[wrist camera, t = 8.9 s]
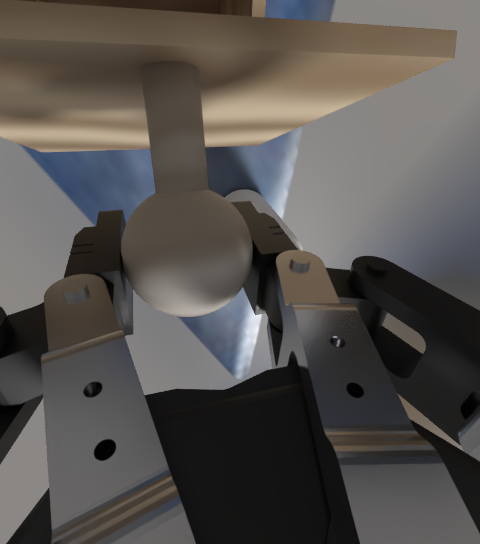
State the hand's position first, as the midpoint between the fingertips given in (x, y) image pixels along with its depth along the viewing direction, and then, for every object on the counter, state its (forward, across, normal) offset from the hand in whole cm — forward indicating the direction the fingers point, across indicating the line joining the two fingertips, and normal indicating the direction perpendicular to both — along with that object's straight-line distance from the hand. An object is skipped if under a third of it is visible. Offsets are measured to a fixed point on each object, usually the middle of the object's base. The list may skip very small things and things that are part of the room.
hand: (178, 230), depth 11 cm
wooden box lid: (+5, 0, -3) cm, 6 cm away
